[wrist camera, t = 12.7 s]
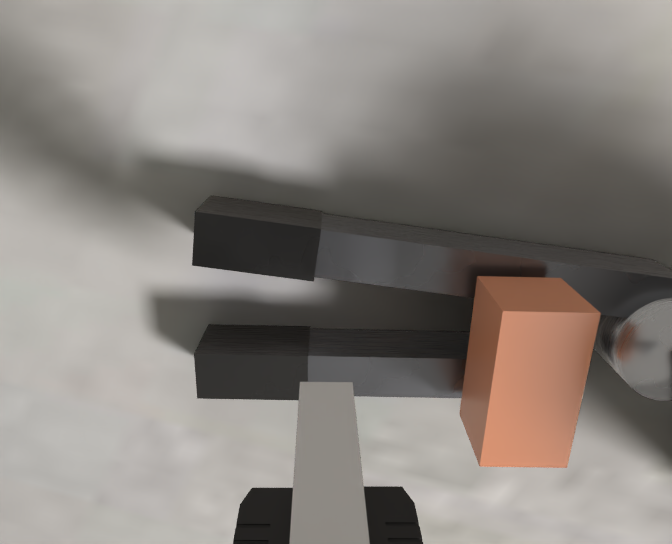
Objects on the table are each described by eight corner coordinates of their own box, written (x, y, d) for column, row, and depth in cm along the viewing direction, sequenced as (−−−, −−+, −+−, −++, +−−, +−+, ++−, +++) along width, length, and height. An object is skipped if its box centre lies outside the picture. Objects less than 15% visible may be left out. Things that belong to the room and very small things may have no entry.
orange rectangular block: (459, 413, 21) (479, 466, 18) (477, 275, 19) (502, 310, 16) (535, 414, 21) (566, 467, 18) (560, 277, 19) (600, 313, 16)
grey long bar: (203, 306, 23) (184, 342, 20) (210, 195, 21) (190, 215, 18) (659, 364, 24) (706, 406, 21) (699, 263, 22) (758, 293, 19)
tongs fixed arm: (210, 365, 24) (197, 398, 21) (208, 324, 23) (194, 353, 21) (558, 371, 24) (584, 405, 22) (565, 331, 23) (593, 361, 21)
